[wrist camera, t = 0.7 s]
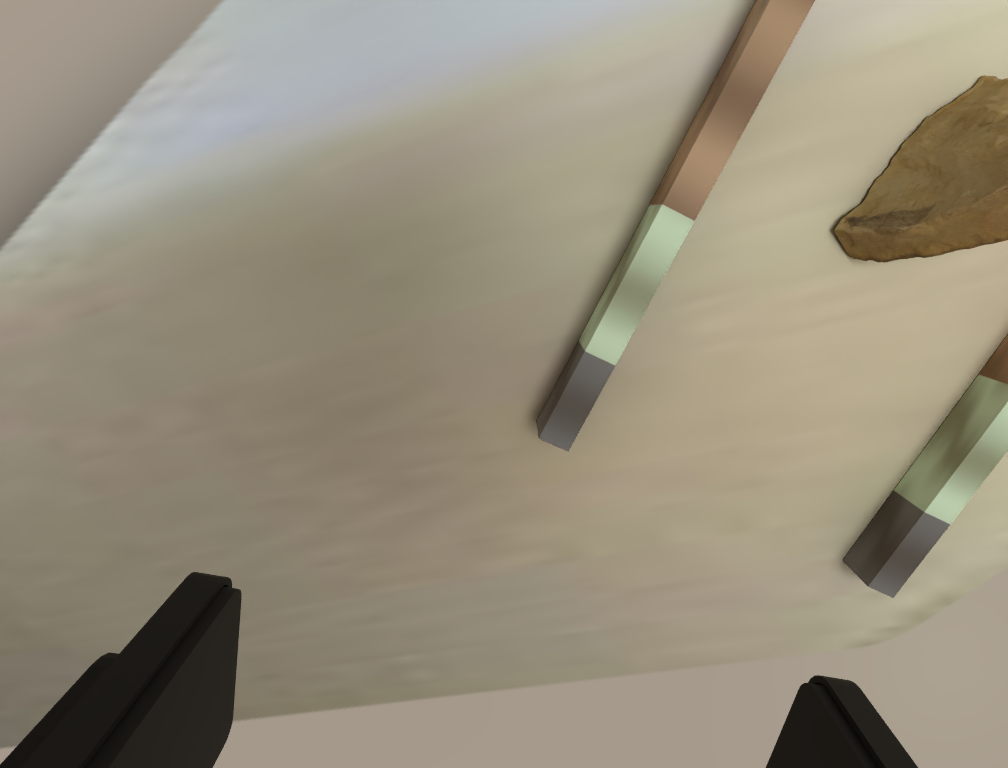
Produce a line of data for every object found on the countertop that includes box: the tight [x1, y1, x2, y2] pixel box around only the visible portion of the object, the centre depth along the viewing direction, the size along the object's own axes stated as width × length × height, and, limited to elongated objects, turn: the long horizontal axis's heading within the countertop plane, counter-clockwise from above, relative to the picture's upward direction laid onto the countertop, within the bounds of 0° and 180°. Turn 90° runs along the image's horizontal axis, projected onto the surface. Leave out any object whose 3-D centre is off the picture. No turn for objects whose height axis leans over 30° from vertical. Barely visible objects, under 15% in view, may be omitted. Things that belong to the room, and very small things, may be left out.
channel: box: [536, 0, 1008, 598], centre depth 35 cm, size 28×26×3 cm
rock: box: [834, 76, 1008, 262], centre depth 31 cm, size 11×9×10 cm
